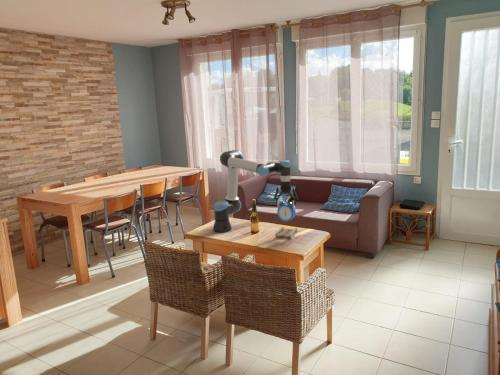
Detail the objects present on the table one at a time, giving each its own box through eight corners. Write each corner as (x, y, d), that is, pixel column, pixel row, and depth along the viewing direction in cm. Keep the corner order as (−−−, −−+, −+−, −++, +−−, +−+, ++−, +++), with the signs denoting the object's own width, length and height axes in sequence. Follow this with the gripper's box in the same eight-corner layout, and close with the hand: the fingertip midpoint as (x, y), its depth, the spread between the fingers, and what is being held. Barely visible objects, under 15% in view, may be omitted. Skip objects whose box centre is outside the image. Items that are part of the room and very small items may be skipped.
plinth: (275, 237, 309) (275, 233, 309) (282, 230, 326) (282, 226, 325) (291, 239, 305) (291, 234, 304) (297, 232, 321) (297, 227, 321)
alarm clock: (277, 221, 313) (276, 202, 310) (280, 218, 318) (279, 200, 315) (293, 222, 307) (292, 203, 304) (296, 220, 313) (295, 201, 310)
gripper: (269, 181, 307) (269, 208, 312) (299, 182, 299) (300, 210, 303) (272, 179, 314) (272, 206, 319) (302, 180, 306) (302, 208, 310)
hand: (286, 208), depth 311 cm, fingers closed on alarm clock, 12 cm apart
